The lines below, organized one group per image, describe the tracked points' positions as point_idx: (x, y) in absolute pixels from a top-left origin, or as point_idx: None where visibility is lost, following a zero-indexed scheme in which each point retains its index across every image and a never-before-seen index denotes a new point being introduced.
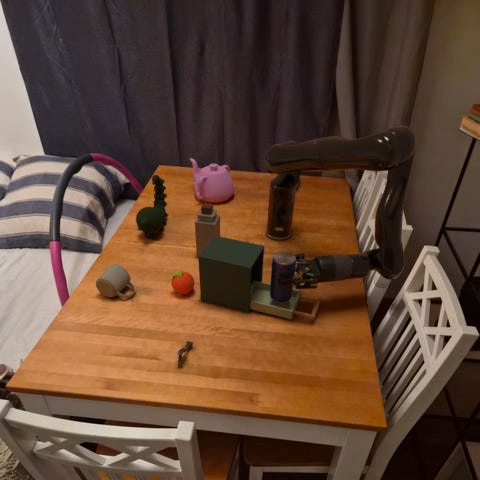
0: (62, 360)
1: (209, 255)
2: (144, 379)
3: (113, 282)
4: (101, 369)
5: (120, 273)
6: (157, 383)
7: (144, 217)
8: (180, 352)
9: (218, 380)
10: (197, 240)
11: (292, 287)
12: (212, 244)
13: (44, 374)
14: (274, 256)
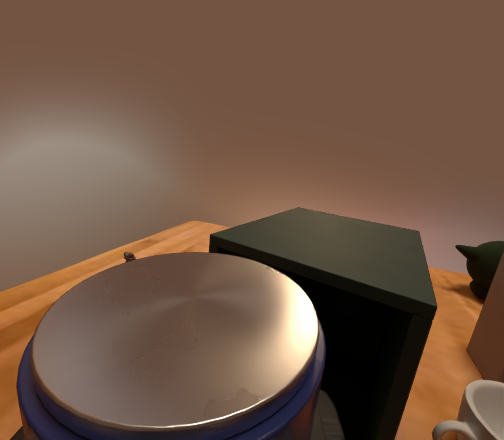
0: (204, 230)
1: (301, 212)
2: (134, 255)
3: None
4: (176, 240)
5: None
6: (117, 260)
7: (480, 246)
8: (126, 254)
9: (41, 305)
10: (486, 305)
11: None
12: (360, 222)
13: (193, 225)
14: (237, 258)
